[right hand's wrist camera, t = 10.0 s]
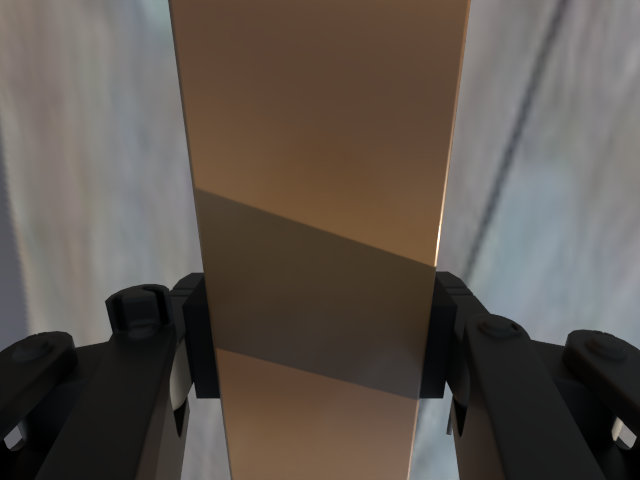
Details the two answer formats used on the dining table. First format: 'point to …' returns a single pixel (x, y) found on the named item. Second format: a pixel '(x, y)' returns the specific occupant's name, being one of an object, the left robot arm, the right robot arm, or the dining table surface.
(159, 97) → the dining table surface
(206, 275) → the bar
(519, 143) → the dining table surface
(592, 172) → the dining table surface
